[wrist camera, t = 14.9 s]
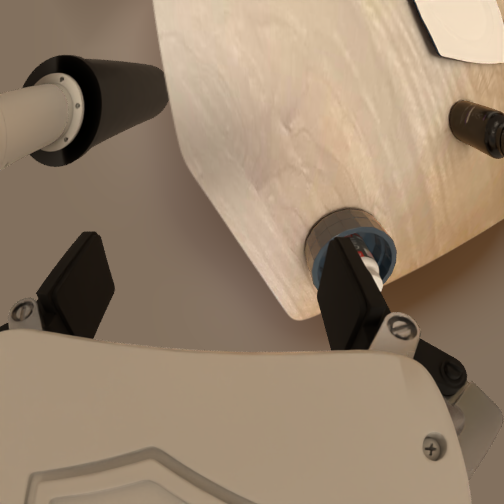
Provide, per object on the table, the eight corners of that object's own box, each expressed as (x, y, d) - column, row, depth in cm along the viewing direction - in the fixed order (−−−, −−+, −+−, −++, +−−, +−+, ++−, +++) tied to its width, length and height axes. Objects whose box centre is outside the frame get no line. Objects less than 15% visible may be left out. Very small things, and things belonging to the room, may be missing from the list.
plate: (506, 65, 23) (516, 67, 20) (425, 62, 26) (436, 62, 24) (473, -37, 12) (482, -39, 10) (378, -58, 15) (386, -64, 13)
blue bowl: (298, 276, 45) (305, 301, 40) (310, 204, 38) (320, 224, 33) (369, 276, 46) (381, 300, 41) (389, 210, 39) (407, 229, 34)
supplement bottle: (447, 97, 28) (504, 114, 18) (476, 102, 28) (530, 120, 18) (447, 141, 32) (500, 168, 22) (476, 142, 32) (526, 169, 22)
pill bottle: (345, 223, 39) (370, 264, 31) (369, 242, 41) (395, 284, 33) (319, 250, 42) (336, 295, 33) (344, 267, 44) (363, 312, 35)
